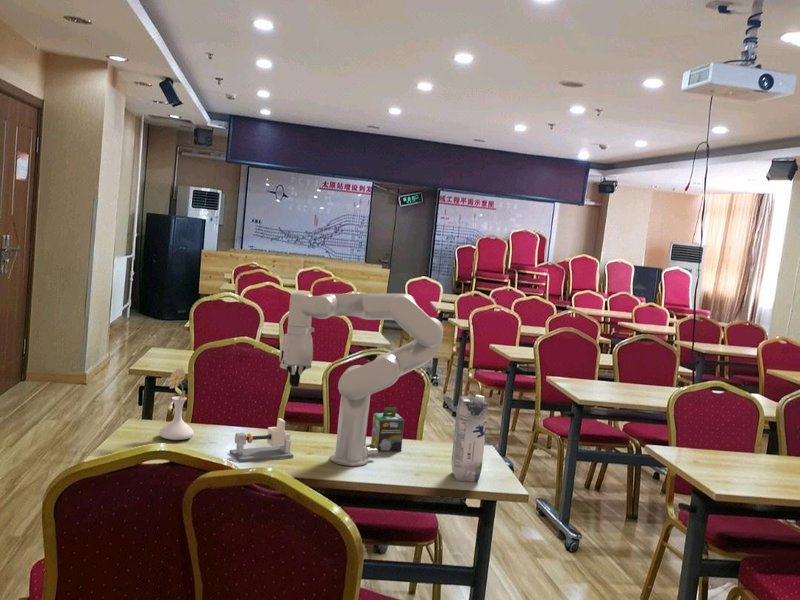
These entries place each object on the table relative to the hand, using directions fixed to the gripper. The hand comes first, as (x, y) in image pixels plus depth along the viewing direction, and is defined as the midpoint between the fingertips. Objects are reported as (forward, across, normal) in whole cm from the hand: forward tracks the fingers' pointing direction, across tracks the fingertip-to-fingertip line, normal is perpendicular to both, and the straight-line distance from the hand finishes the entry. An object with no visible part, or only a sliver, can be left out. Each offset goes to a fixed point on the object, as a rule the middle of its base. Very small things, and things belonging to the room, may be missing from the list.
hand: (294, 385), depth 241 cm
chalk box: (+23, -37, +2) cm, 43 cm away
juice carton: (+23, -46, +37) cm, 63 cm away
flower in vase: (+23, +30, -24) cm, 45 cm away
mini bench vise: (+23, +9, 0) cm, 25 cm away
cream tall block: (+19, +5, 0) cm, 20 cm away
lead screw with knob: (+18, +9, 0) cm, 20 cm away
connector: (+22, +17, 0) cm, 28 cm away
